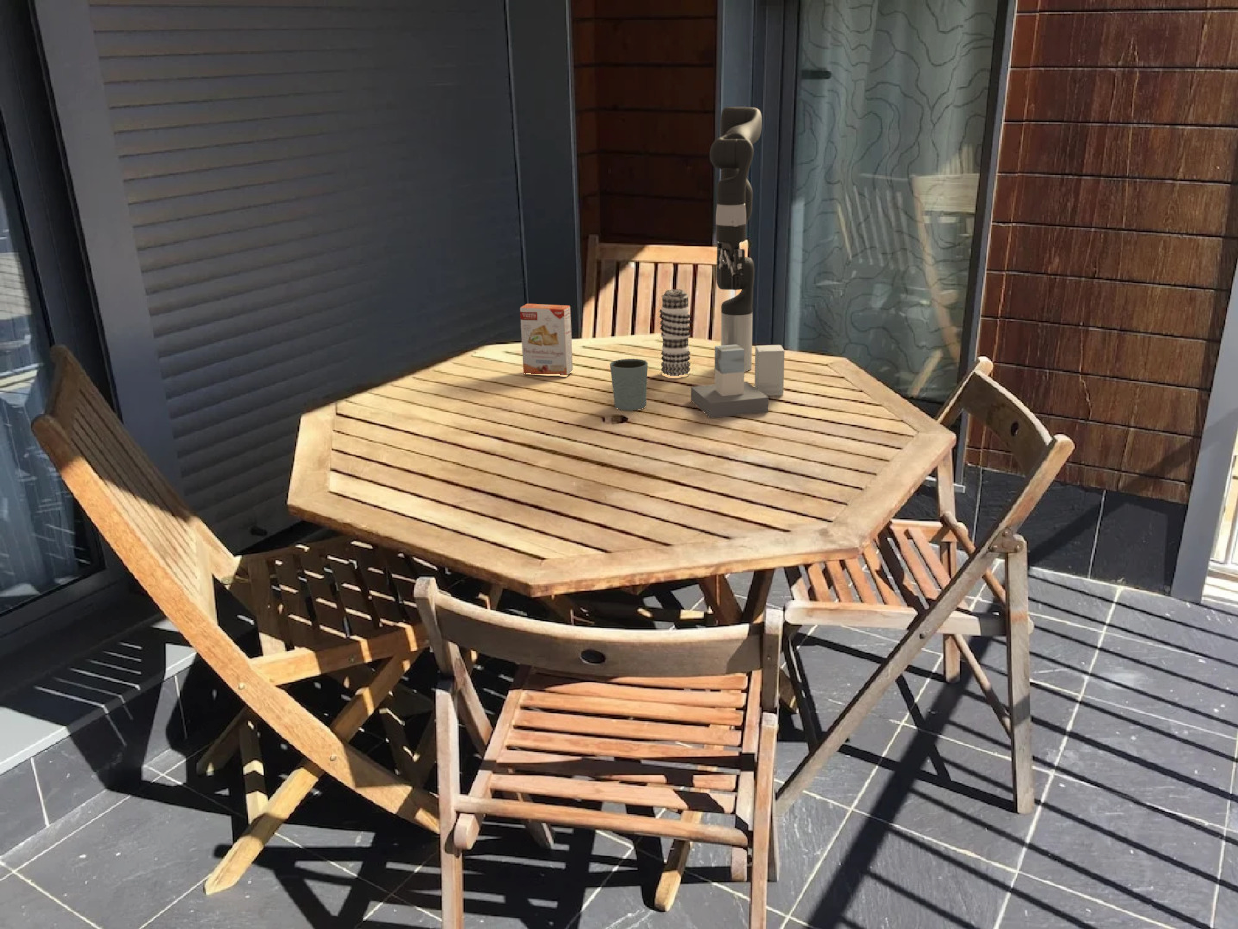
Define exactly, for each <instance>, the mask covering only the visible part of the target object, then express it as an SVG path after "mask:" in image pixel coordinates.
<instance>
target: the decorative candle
mask: <svg viewBox="0 0 1238 929" xmlns="http://www.w3.org/2000/svg"><path fill="white" fill-rule="evenodd" d="M661 298H662V300H661V302H662V304H661V305H662V306H661V309H659V311H658V312H659V313H660V314H659V318H660V322H659V325H660V328H659V329H660V331H661V333H660V337H661V338H662V345H661V346H662V347H661V349H662V350H661V352H660V353H661V354H660V355H661V358H660V359H661V360H662V361H661V363H660V365H661V369H660V371H661V372H663V373H664V374H667V375H670V376H679V375H684V374H689V373H688V372H690V371H691V368H690V367H691V362H690V359H691V356H690V354H691V351H690V345H689V338H690V336H691V332H689V331H690V330H691V327H690V326H689V325H690V324H691V322H692V321H691V320H690V318H692V315H691V314H689V311H690V306H689V298H690V294H688V293H687V292H686V290H684V289H679V288H675V289H668V290H666V291H665V292H664V294H663V295H661Z"/></svg>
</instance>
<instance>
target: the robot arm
mask: <svg viewBox="0 0 1238 929" xmlns="http://www.w3.org/2000/svg"><path fill="white" fill-rule="evenodd" d="M762 116H763V115H762V113H761V110H760V109H758V108H757V107H751V106H748V107H747V106H727V107H724V108H723V109H722V111H721V115H720V122H719V123H720V125H719V126H720V130H719V131H720V135H719V137H718V138H716V139H715V140H714V141H713V143H712V144H711V146H710V149H709V161H710V162H711V164H712V166H713V167H714V168H716V169H718V170H720V180H719V181H718V182H717V186H716V187H717V188H716V192H717V193H716V211H715V213H716V214H715V241H716V242H717V244H716V245H717V246H716V272H715V273H716V274H715V275H716V276H715V277H716V285H717V287H718V288H719V290H723V291H727V290H732V291H738V290H739V291H740V292H739V293H738V294H737V295H735V296H734V297H731V298H729V299H727V300H724V301H723V302H722V303H721V304H720V305H721V306H720V325H721V326H720V346H723V345H735V344H737V345H738V346H740V347H741V348H743V349H744V373H745V372H749V371H751V370H752V364H753V363H752V357H753V356H752V355H753V353H752V352H753V314H754V313H753V304H754V302H753V301H754V299H753V298H754V285H755V284H754V282H755V263H754V262H755V261H754V260H753V259H752V258H751V257H750V256H749V257H748V256H746V249H745V248H741V247H740V243H743V242H745V241H746V238H747V235H746V234H747V224H748V221H749V219H750V218H751V216H752V213H753V195H754V193H753V192H754V191H753V187H752V185H751V183H750V181H749V180H748V175H749V171H750V168H751V165H752V162H753V158H754V150H755V149H754V146H753V145H754V144H755V143H757V141H758V140H759V139H760V137H761V134H762V127H763V125H762V124H763V117H762ZM750 369H751V370H750ZM748 370H749V371H748Z"/></svg>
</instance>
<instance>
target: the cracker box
mask: <svg viewBox="0 0 1238 929" xmlns="http://www.w3.org/2000/svg"><path fill="white" fill-rule="evenodd" d="M519 310H520V311H519V312H520V313H519V316H520V332H521V333H520V335H521V352H522V354H521V355H522V368H523V374H524V373H525V374H526V373H531V374H560V375H567V374H569V373H570V372H571V371H572V370H573V369H574V368H573V366H574V365H573V344H572V342H573V341H572V321H571V320H572V317H571V316H572V315H571V306H570V305H566V304H565V305H562V304H561V305H560V304H543V303H542V304H540V303H539V304H537V303H526V304H524V305H522V306H520V308H519Z"/></svg>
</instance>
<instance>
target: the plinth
mask: <svg viewBox="0 0 1238 929" xmlns="http://www.w3.org/2000/svg"><path fill="white" fill-rule="evenodd" d="M769 398H770V397H769V396H766V395H765V394H763V393H762V392H761V391H759V390H758V389H756V388H755V385H753V384H751V383H750V382H748V381H744V394H738V395H728V396H722V395H720V394H719V393H718V392H717V391H715V384H709V385H705V384H704V385H695V386H690V401H691V400H692V401H693V402H694V403H693V402H692V401H691V402H692V403H693V404H694V405H695V406H696V405H697V406H698V407H699V408H700V409H699V408H698V407H697V406H696V407H697V408H698V409H699V410H701V411H702V412H703V411H704V412H705V413H704V412H703V413H704V415H706V414H707V415H706V416H707V417H708V416H709V418H710V419H712V418H711V417H716V418H725V417H733V416H742V415H743V416H744V415H750V414H752V415H753V414H754V415H755V414H761V413H768V412H769V404H770V403H769Z"/></svg>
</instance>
